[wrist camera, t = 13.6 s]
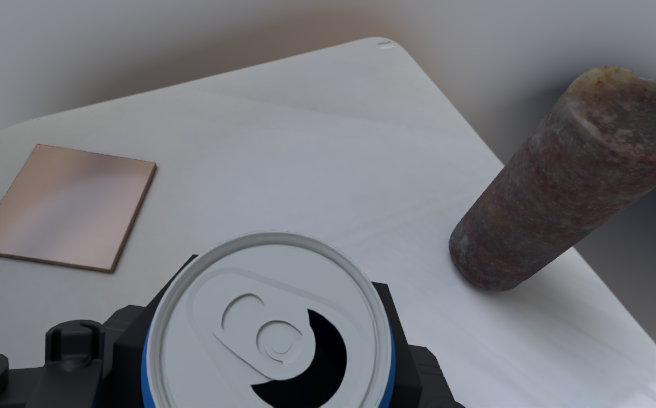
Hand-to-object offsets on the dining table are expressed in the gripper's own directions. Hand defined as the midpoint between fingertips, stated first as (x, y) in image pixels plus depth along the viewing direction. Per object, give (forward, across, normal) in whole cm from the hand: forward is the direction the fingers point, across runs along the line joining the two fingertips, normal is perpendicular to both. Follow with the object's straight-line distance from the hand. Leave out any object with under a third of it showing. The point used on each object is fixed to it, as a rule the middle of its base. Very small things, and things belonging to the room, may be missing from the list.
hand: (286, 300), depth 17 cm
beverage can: (+2, 0, -6) cm, 6 cm away
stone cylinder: (+21, +17, -3) cm, 27 cm away
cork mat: (+20, -20, -4) cm, 29 cm away
